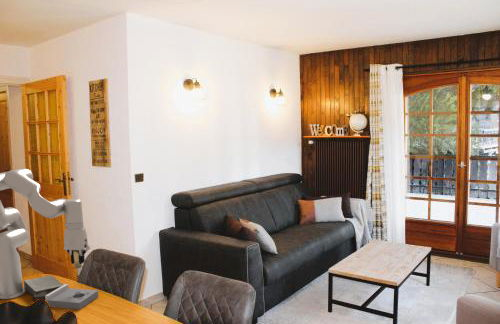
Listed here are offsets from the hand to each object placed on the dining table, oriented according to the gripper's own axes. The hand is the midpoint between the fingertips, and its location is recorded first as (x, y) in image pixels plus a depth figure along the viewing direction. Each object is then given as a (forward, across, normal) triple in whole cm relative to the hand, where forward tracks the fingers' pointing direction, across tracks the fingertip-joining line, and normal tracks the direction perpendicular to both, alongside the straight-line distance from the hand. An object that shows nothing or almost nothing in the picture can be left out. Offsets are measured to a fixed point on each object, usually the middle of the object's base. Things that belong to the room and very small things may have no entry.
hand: (78, 262), depth 204 cm
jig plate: (+16, 0, -6) cm, 18 cm away
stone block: (+17, -22, +2) cm, 27 cm away
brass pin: (+2, 0, 0) cm, 2 cm away
